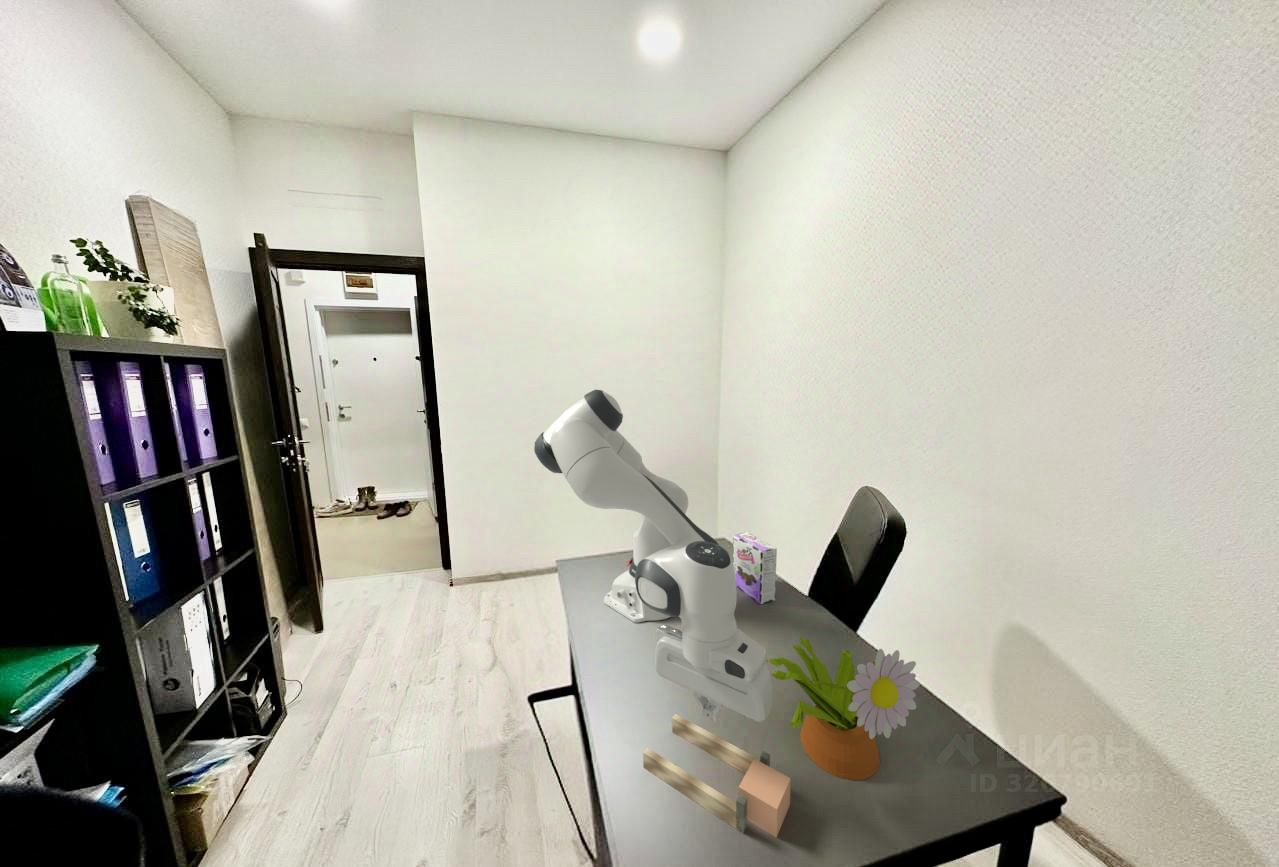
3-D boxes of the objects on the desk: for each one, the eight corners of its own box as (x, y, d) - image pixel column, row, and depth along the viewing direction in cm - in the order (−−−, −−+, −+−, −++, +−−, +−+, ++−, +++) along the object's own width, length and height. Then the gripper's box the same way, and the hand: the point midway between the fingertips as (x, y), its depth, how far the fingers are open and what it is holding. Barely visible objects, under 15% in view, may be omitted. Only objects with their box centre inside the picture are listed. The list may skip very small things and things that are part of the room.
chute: (643, 767, 77) (642, 742, 76) (675, 727, 85) (675, 704, 84) (743, 833, 65) (743, 804, 65) (769, 780, 74) (770, 754, 73)
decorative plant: (821, 827, 66) (828, 677, 62) (741, 708, 89) (742, 594, 85) (957, 776, 73) (971, 639, 69) (851, 679, 96) (856, 572, 92)
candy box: (731, 583, 139) (732, 534, 136) (747, 579, 141) (747, 531, 139) (760, 605, 126) (760, 551, 124) (776, 600, 129) (777, 547, 126)
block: (738, 814, 68) (738, 786, 68) (753, 784, 73) (754, 758, 72) (776, 838, 65) (777, 809, 64) (789, 805, 70) (790, 778, 69)
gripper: (645, 630, 75) (649, 701, 78) (762, 677, 63) (761, 759, 66) (665, 612, 80) (668, 680, 83) (776, 653, 68) (775, 730, 71)
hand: (710, 715), depth 74 cm, fingers closed
